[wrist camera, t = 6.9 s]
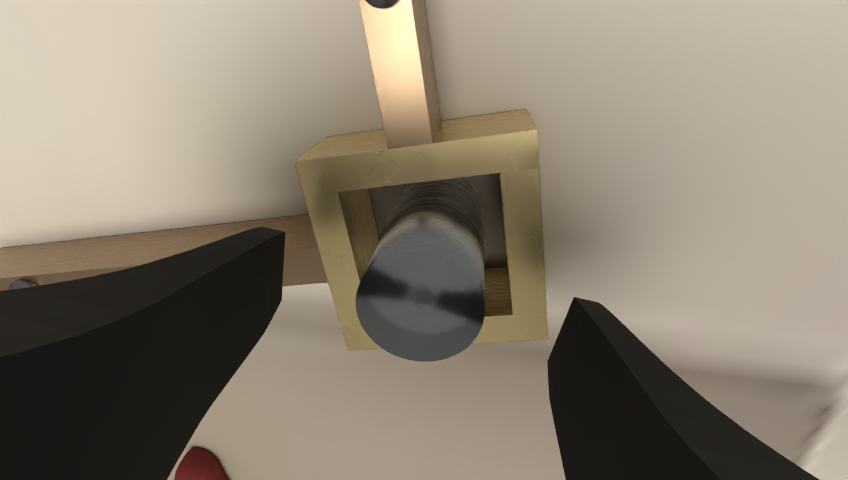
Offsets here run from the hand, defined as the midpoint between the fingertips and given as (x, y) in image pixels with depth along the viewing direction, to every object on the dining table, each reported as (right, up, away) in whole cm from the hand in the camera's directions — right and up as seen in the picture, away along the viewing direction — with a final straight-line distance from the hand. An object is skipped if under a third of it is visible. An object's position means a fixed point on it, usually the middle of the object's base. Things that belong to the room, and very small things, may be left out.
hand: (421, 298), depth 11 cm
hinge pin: (+1, +2, +5) cm, 5 cm away
